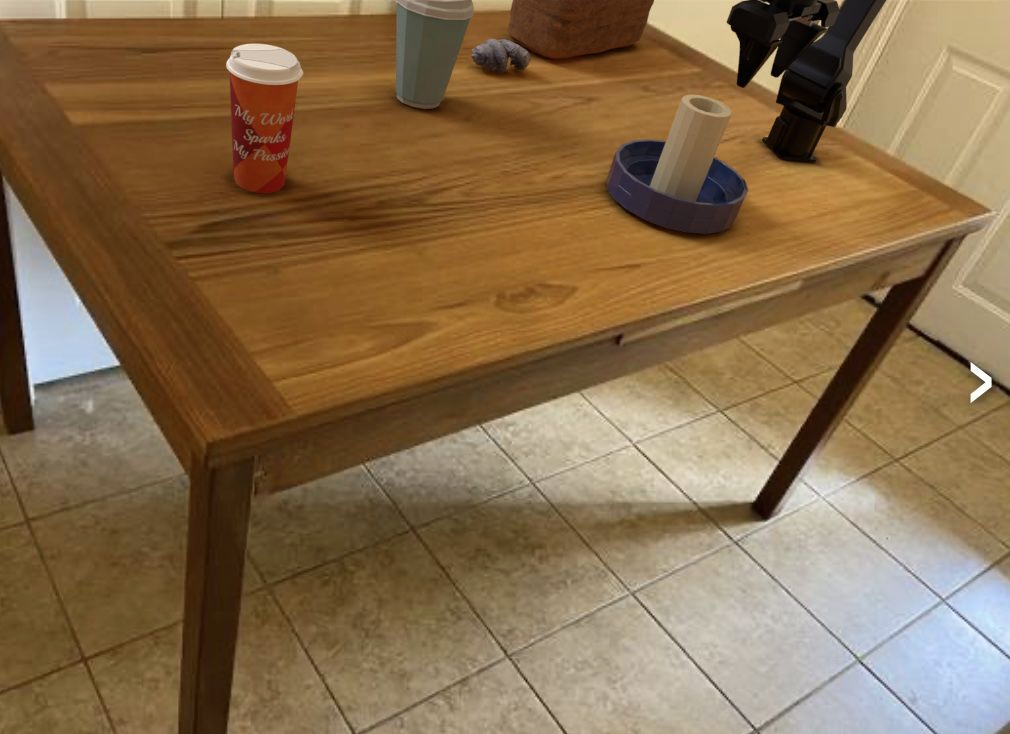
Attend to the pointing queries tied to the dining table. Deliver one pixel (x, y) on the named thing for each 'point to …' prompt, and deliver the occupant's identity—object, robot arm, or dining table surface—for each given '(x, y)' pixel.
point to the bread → (577, 25)
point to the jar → (691, 146)
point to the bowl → (702, 216)
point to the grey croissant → (500, 55)
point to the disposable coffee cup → (428, 48)
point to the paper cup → (262, 114)
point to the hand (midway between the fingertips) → (757, 81)
